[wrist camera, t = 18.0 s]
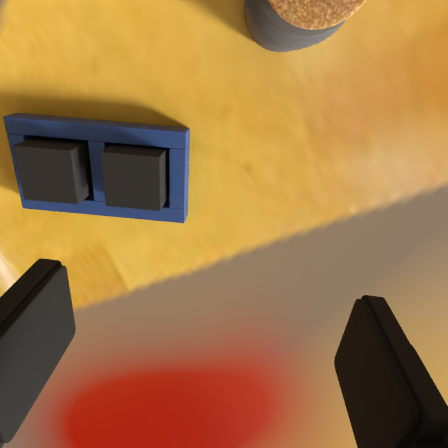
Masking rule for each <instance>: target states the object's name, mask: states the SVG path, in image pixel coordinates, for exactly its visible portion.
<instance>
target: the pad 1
mask: <svg viewBox="0 0 448 448" xmlns="http://www.w3.org/2000/svg"><path fill="white" fill-rule="evenodd" d="M13 149H14V154H15V158H16V163H17V168H18V172H19V177H20V182H21V186H22V191H23V196H24V199H25V200H33V201H44V202H55V203H66V204H77V205H78V204H79V203H81V202H82V201H83V200H84V199H85V198H86V197H87V196H89V195H90V194H91V193H92V192H93V184H92V174H91V165H90V156H89V147H88V140H76V139H65V138H54V137H43V136H37V137H34V138H31V139H29V140H26V141H23V142H21V143H18V144H15V145H13Z"/></svg>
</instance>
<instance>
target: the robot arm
mask: <svg viewBox="0 0 448 448" xmlns="http://www.w3.org/2000/svg"><path fill="white" fill-rule="evenodd" d="M75 329H76V328H75V321H74V314H73V307H72V301H71V294H70V288H69V281H68V275H67V269H66V267H65V266H62V264H61V262H60V261H58V260H50V259H39V260H37V261H36V262H35V263H34V264H33V265H32V266H31V267H30V268H29V269H28V270H27V271H26V272H25V273H24V274H23V275H22V276H21V277H20V278H19V279H18V280H17V281H16V282H15V283H14V284H13V285H12V286H11V287H10V288H9V289H8V290H7V291H6V292H5V293H4V294H3V295H2V296H1V297H0V448H2V446H3V444H4V443H8V442H10V441H11V440H12V439H13V437H14V435H15V434H16V432H17V431H18V429H19V427H20V426H21V424H22V422H23V420H24V419H25V417H26V416H27V414H28V412H29V411H30V409H31V407H32V406H33V404H34V402H35V401H36V399H37V397H38V396H39V394H40V392H41V391H42V389H43V387H44V385H45V384H46V382H47V381H48V379H49V377H50V376H51V374H52V372H53V371H54V369H55V367H56V366H57V364H58V362H59V361H60V359H61V357H62V356H63V354H64V352H65V351H66V349H67V347H68V346H69V344H70V342H71V341H72V339H73V337H74V334H75ZM334 364H335V370H336V373H337V377H338V380H339V384H340V387H341V391H342V394H343V398H344V401H345V405H346V408H347V412H348V415H349V419H350V422H351V426H352V429H353V433H354V436H355V440H356V443H357V446H358V448H448V406H447V404H446V403H445V401H444V399H443V397H442V396H441V394H440V392H439V390H438V389H437V387H436V386H435V383H434V382H433V380H432V378H431V377H430V375H429V373H428V371H427V370H426V368H425V366H424V364H423V363H422V361H421V359H420V357H419V356H418V354H417V352H416V351H415V349H414V348H413V346H412V345H411V344H410V342H409V341H408V339H407V337H406V335H405V334H404V332H403V330H402V329H401V327H400V325H399V323H398V321H397V320H396V318H395V316H394V315H393V312H392V311H391V309H390V307H389V305H388V304H387V302H386V300H385V299H384V298H383V297H376V296H368V295H364V296H363V297H362V298H361V299H357V300H356V301H355V304H354V306H353V309H352V312H351V314H350V317H349V320H348V323H347V326H346V328H345V331H344V334H343V336H342V339H341V342H340V345H339V347H338V350H337V353H336V356H335V362H334Z"/></svg>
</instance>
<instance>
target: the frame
mask: <svg viewBox="0 0 448 448" xmlns="http://www.w3.org/2000/svg"><path fill="white" fill-rule="evenodd" d="M3 118H4V123H5V127H6V132H7V133H8V134H7V137H8V141H9V146H10V151H11V155H12V160H13V164H14V169H15V174H16V178H17V183H18V187H19V192H20V197H21V202H22V206H23V208H27V209H38V210H49V211H59V212H70V213H81V214H92V215H103V216H113V217H124V218H135V219H146V220H157V221H167V222H178V223H184V222H185V220H186V217H187V211H188V202H187V201H188V173H189V137H190V128H183V127H171V126H160V125H148V124H137V123H126V122H114V121H103V120H91V119H80V118H69V117H57V116H46V115H34V114H23V113H15V114H11V115H6V116H3ZM36 136H43V137H54V138H65V139H76V140H88V147H89V156H90V165H91V174H92V184H93V193H91V194H90V195H89V196H87V197H86V198H85V199H84V200H83V201H82V202H81V203H79V204H78V205H77V204H66V203H55V202H44V201H33V200H25V199H24V196H23V191H22V186H21V182H20V177H19V172H18V168H17V163H16V158H15V154H14V149H13V145H15V144H18V143H21V142H23V141H26V140H29V139H31V138H34V137H36ZM112 143H122V144H133V145H144V146H155V147H167V148H169V200H166V202H165V203H164V205H163V207H162V209H161V211H154V210H143V209H132V208H122V207H111V206H106V203H105V193H104V182H103V171H102V161H101V151H103V150H104V149H106V148H107V147H109V146H111V145H112Z"/></svg>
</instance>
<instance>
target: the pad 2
mask: <svg viewBox="0 0 448 448" xmlns="http://www.w3.org/2000/svg"><path fill="white" fill-rule="evenodd" d="M101 161H102V171H103V182H104V193H105V203H106V206H111V207H122V208H132V209H143V210H154V211H161V209H162V207H163V205H164V203H165V202H166V200H167V198H168V196H169V148H167V147H155V146H144V145H133V144H122V143H114V144H112V145H111V146H109V147H107V148H106V149H104V150H103V151H101Z"/></svg>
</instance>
